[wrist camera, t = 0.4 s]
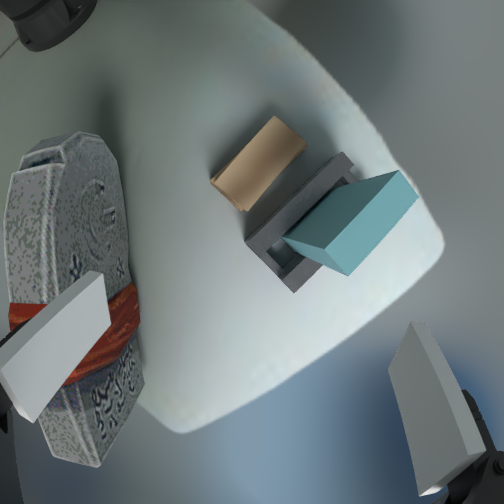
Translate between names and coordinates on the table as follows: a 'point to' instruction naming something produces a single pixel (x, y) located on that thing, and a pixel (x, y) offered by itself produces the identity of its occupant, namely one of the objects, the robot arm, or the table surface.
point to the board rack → (291, 212)
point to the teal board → (351, 221)
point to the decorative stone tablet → (68, 272)
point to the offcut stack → (258, 164)
